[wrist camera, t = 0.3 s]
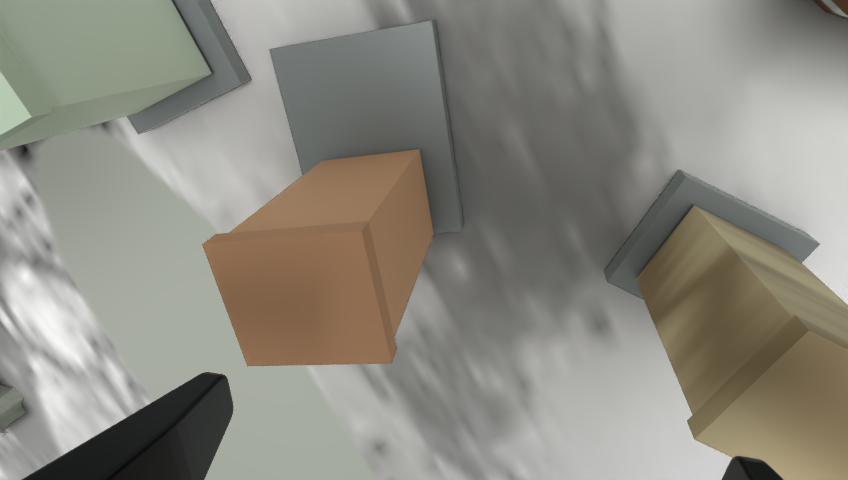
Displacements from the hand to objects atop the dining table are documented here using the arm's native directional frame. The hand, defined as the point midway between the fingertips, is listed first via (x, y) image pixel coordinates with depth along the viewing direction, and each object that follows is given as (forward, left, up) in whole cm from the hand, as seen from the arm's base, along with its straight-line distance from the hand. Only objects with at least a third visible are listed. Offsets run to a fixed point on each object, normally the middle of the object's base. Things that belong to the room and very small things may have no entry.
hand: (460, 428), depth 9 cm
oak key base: (-3, -10, -15) cm, 18 cm away
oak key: (-3, -10, -14) cm, 17 cm away
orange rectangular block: (-1, +5, -14) cm, 15 cm away
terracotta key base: (+1, +6, -15) cm, 16 cm away
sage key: (+4, +15, -14) cm, 21 cm away
